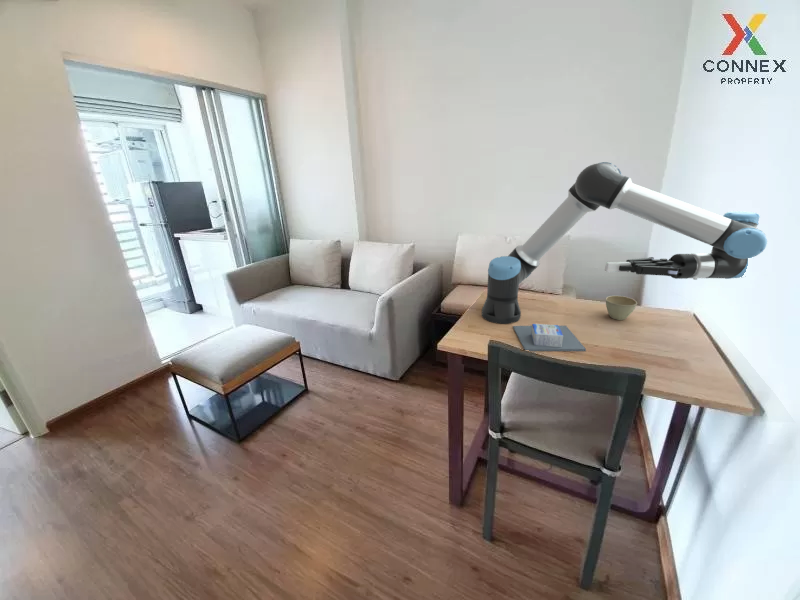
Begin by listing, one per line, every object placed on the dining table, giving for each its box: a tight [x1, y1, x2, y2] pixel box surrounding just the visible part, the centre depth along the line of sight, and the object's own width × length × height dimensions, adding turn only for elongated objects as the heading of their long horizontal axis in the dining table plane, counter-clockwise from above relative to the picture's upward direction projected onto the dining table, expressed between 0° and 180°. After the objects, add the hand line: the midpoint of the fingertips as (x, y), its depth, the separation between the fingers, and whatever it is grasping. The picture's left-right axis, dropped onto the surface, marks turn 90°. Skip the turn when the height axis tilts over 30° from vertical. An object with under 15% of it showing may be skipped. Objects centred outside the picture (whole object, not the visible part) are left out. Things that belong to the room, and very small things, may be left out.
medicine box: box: [531, 323, 563, 347], centre depth 111 cm, size 8×4×9 cm
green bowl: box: [605, 295, 638, 321], centre depth 126 cm, size 10×10×7 cm
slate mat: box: [512, 325, 587, 352], centre depth 115 cm, size 19×17×1 cm
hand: (606, 267), depth 102 cm, fingers closed
